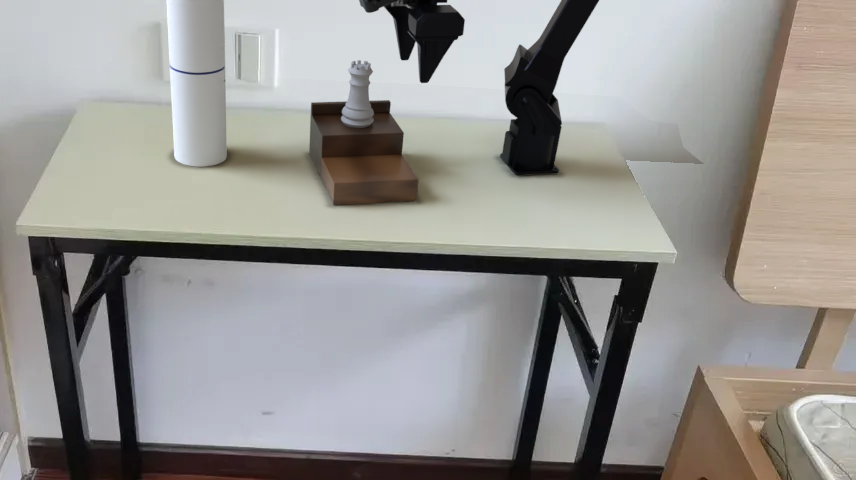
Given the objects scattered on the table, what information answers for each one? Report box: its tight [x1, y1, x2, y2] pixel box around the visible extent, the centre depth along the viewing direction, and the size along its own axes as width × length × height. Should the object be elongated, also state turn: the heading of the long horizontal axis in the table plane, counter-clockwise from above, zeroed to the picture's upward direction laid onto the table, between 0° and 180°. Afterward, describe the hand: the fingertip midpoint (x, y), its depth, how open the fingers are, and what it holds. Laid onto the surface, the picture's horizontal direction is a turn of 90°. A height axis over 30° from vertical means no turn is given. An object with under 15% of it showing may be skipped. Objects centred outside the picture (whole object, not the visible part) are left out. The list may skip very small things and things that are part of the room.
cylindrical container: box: [165, 0, 228, 168], centre depth 125 cm, size 7×7×25 cm
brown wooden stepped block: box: [308, 99, 419, 206], centre depth 127 cm, size 11×16×8 cm
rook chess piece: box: [341, 59, 374, 128], centre depth 127 cm, size 4×4×8 cm
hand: (413, 71), depth 130 cm, fingers open, 9 cm apart
